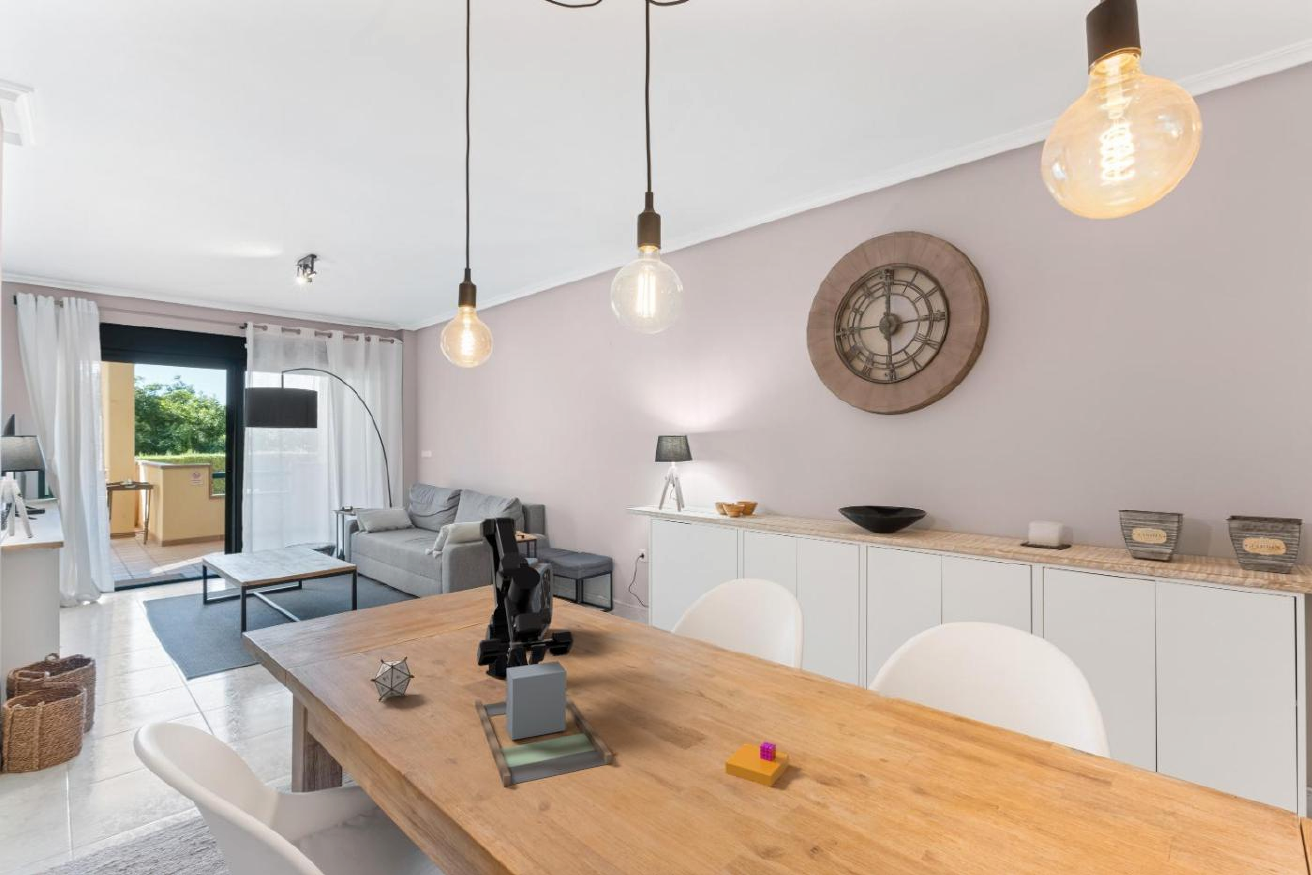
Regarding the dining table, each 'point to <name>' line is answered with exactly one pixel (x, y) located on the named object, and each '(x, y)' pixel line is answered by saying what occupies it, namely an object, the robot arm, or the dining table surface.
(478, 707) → the channel
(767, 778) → the flat orange slab
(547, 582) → the alarm clock
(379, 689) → the game die
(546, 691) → the slate block
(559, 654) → the robot arm
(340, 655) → the dining table surface
